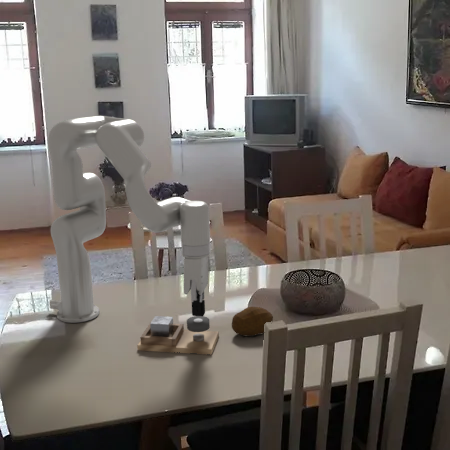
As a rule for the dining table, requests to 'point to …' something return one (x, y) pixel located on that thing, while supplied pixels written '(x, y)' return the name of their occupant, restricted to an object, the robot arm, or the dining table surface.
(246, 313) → the potato
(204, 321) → the wheel
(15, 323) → the dining table surface
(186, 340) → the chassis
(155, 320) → the grey stone cube
